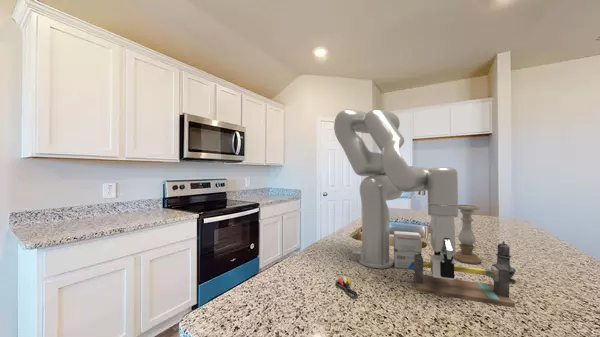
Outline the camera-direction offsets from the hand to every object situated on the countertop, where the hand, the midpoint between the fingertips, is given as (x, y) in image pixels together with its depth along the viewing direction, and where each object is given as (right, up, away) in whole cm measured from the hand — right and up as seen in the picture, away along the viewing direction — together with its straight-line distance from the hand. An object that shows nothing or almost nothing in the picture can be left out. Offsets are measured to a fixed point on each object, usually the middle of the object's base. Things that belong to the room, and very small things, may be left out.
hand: (443, 270), depth 70 cm
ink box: (-4, -5, +16) cm, 17 cm away
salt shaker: (+22, -6, +6) cm, 23 cm away
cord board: (+3, -5, -1) cm, 6 cm away
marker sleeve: (0, -2, 0) cm, 2 cm away
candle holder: (+22, -6, +22) cm, 31 cm away
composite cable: (-28, -6, -1) cm, 29 cm away
